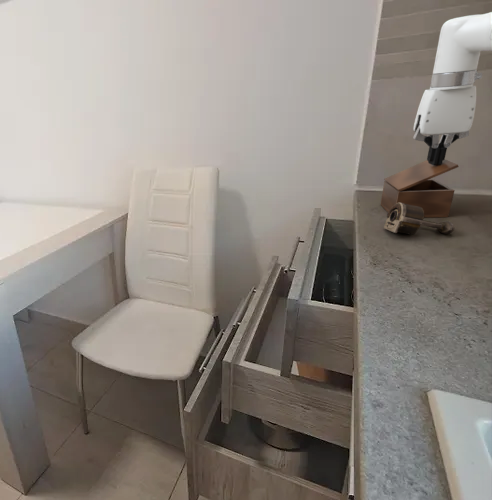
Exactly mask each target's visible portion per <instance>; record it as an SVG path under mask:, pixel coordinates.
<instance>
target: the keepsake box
mask: <svg viewBox="0 0 492 500" xmlns="http://www.w3.org/2000/svg"><path fill="white" fill-rule="evenodd" d="M454 194H455V189H453V188H451V187H450V186H448V185H446V184H444V183H443V182H440V181H439V180H437V179H435V178H431V179H429V180H426V181H424V182H421V183H419V184H417V185H414V186H412V187H410V188H407V189H405V190H402V191H400V192H399V191H398V190H397V189H395V188H394V187H393V186H391V185H390V184H389V183H387V182H386V181H385V180H384V182H383V187H382V193H381V199H380V203H379V204H380V205H379V206H381V207H382V209H384V210H385V211H386V212H387V214H388V213H389V211H390V209H391V208H392V207H393V206H394V205H395V204H396V203H399V202H401V203H404V204H408V205H413V206H418V207H421V208H422V209H423V211H424V218H449V215H450V212H451V211H450V210H451V207H452V203H453V199H454ZM424 218H423V219H424Z"/></svg>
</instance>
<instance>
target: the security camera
mask: <svg viewBox="0 0 492 500" xmlns="http://www.w3.org/2000/svg"><path fill="white" fill-rule="evenodd" d="M421 226H423V227H427V228H433V229H436V230H438V231H439V233H441V234H444V235H449V234H452V232H453V231H455V229H456V227H455V224H453V222H451V221H449V220H443V221H440V222H436V221H431V220H426V219H424V211H423V209H422V208H421V207H418V206H413V205H408V204H404V203H401V202H399V203H396V204H395V205H394V206H393V207H392V208H391V209H390V211H389V213H388V212H387V213H386V220H385V223H384V225H383V229H385V230H387V231H389V232H392V233H395V234H397V233H401V234H405V235H414V234H416V233H417V232H418V231H419V229H420V228H421Z"/></svg>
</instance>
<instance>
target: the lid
mask: <svg viewBox="0 0 492 500" xmlns="http://www.w3.org/2000/svg"><path fill="white" fill-rule="evenodd" d="M457 168H459V164H457V163H455V162H452V161H450V160H447V159H446V158H445V159H444V160H443V161H442V165H432V164H429V163H428V161H427V159H426V160H423V161H421V162H420V163H417V164H414V165H413V166H410V167H408V168H405V169H403V170H401V171H398V172H396V173H394V174H392V175H389V176H387V177H385V178H384V179H383V180H384V181H386V182H387V183H389V184H390V185H391V186H393V187H394V188H395V189H397V190H398V191H399V192H400V191H402V190H405V189H407V188H410V187H412V186H414V185H417V184H419V183H421V182H424V181H426V180H429V179H434V178H436V177H438V176H441V175H443V174H445V173H448V172H450V171H453V170H455V169H457Z"/></svg>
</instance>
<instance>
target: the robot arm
mask: <svg viewBox="0 0 492 500" xmlns="http://www.w3.org/2000/svg"><path fill="white" fill-rule="evenodd" d="M481 52H492V11H490V12H486V13H483V14H470V15H465V16H458V17H454V18H451V19H447V20H446V21H445V22H444V23H443V24H442V26H441V28H440V32H439V36H438V43H437V48H436V54H435V59H434V65H433V69H432V75H431V79H430V84H429V85H430V86H429V88H428V89H425V90H424V92H423V94H422V95H421V96H422V97H421V99H420V102H419V104H418V108H417V111H416V115H415V119H414V123H413V132H414V135H413V137H412V139H413V140H414V141H419V142H424V143H425V144H426V145H427V147H429V148H428V151H427V155H426V156H427V157H426V160H427V161H428V163H429V164H432V165H442V161H443V160H444V159H445V160H446V155H447V150H448V148H450V147H451V145H452V144H453V143H454V142H456V141H457V140H460V139H464V138H467V137H469V136H470V130H471V128H472V126H473V122H474V119H475V114H476V113H475V112H476V105H477V85H474V84H475V82H476V81H477V80H482V78H483V72H481V71H480V72H478V65H479V61H480V57H481Z"/></svg>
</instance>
